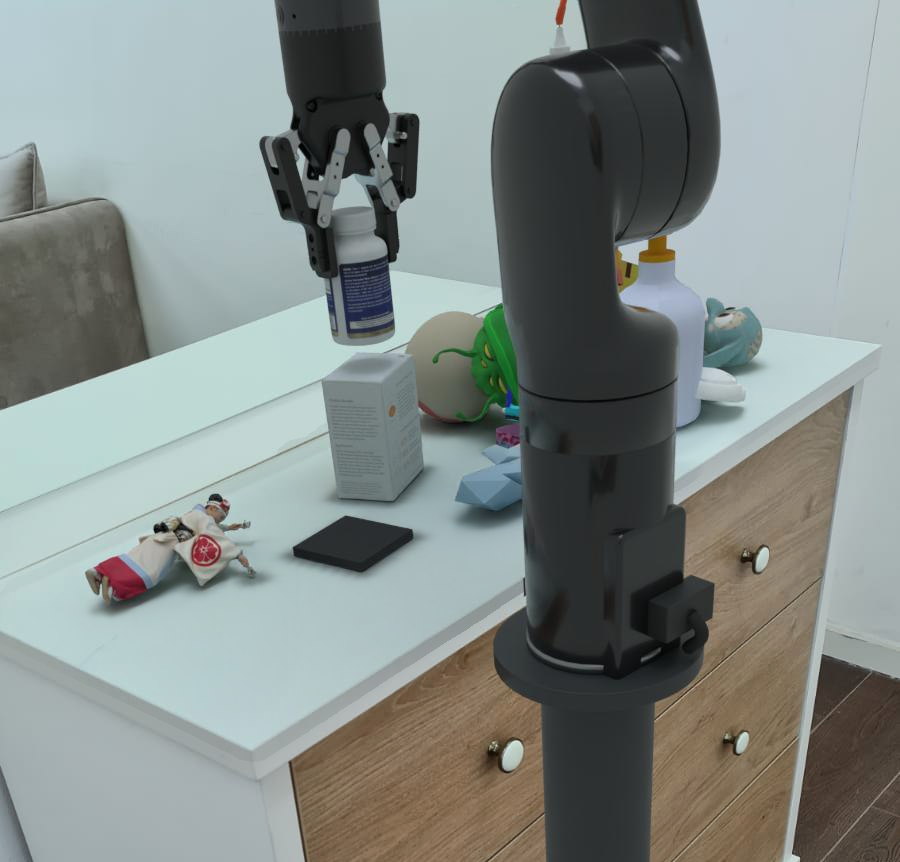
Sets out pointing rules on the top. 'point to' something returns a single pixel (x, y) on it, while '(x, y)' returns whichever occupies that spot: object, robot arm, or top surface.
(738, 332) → the stuffed animal
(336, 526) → the pad
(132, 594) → the figurine
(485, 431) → the top surface
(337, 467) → the small box
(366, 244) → the pill bottle
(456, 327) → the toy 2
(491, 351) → the figurine
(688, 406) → the soap bottle
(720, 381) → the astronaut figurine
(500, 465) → the polygonal blue rock
